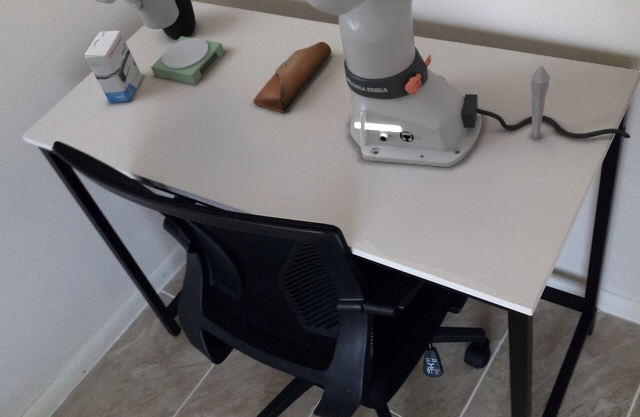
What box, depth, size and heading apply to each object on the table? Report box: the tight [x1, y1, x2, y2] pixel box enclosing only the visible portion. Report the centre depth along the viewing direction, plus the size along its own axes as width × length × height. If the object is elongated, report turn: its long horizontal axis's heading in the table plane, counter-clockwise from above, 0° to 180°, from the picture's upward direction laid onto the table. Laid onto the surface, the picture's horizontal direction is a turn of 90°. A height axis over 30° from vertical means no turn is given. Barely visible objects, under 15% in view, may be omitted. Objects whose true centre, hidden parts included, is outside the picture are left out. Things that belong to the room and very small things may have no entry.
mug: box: [161, 0, 197, 41], centre depth 143 cm, size 12×9×10 cm
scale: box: [150, 36, 225, 85], centre depth 136 cm, size 11×11×3 cm
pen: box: [530, 65, 551, 139], centre depth 99 cm, size 2×3×14 cm
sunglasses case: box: [253, 41, 332, 114], centre depth 125 cm, size 18×7×7 cm, turn 151°
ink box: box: [84, 30, 143, 104], centre depth 131 cm, size 8×5×12 cm, turn 171°
